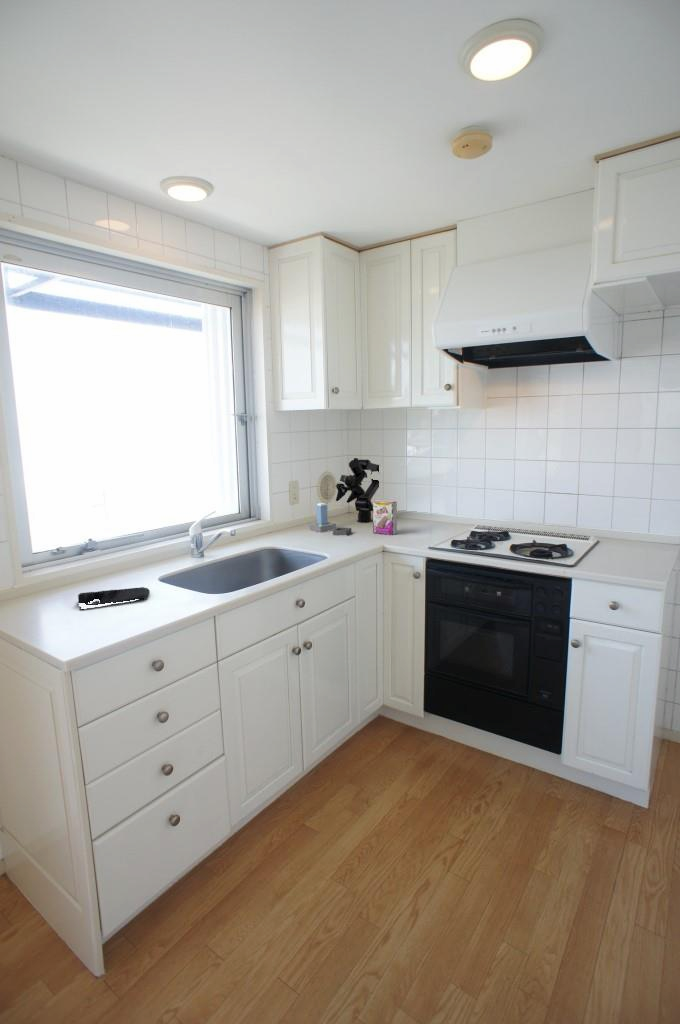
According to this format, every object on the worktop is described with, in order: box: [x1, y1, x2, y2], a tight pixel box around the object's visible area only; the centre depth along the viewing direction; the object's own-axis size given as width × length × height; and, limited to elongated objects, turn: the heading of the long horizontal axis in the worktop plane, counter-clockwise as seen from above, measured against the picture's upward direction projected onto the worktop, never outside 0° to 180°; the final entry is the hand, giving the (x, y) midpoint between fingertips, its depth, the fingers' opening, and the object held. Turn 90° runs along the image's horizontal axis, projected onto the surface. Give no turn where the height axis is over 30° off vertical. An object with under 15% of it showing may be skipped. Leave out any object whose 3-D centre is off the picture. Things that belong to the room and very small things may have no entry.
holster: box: [332, 526, 352, 536], centre depth 268 cm, size 7×7×2 cm
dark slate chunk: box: [77, 586, 151, 605], centre depth 179 cm, size 15×22×5 cm
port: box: [308, 521, 337, 533], centre depth 280 cm, size 10×10×4 cm
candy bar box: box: [372, 499, 398, 536], centre depth 264 cm, size 11×5×16 cm, turn 58°
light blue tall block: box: [315, 502, 329, 525], centre depth 279 cm, size 4×4×14 cm
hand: (341, 501), depth 283 cm, fingers open, 9 cm apart
